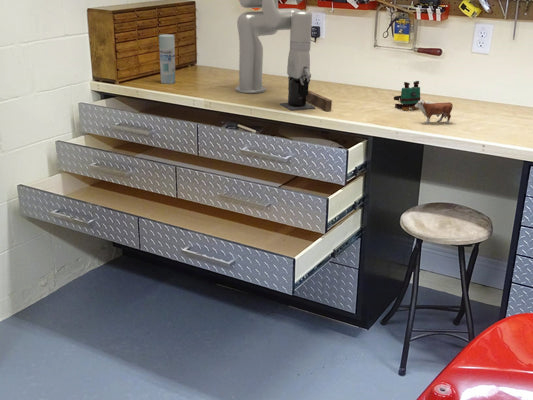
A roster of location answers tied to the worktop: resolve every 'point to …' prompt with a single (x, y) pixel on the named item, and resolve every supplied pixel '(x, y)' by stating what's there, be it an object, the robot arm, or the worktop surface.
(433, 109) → the bull figurine
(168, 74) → the spray paint can
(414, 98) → the binoculars
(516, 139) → the worktop surface
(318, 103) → the walnut rail
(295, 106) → the pad
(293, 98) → the supplement bottle
